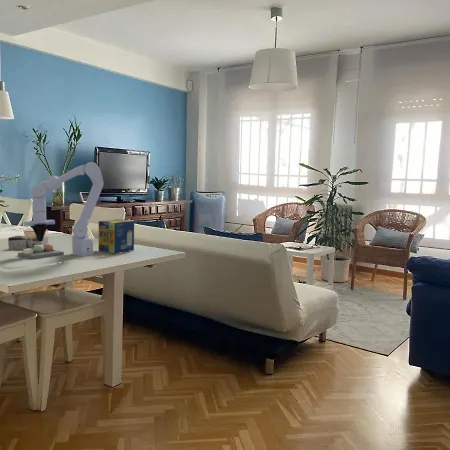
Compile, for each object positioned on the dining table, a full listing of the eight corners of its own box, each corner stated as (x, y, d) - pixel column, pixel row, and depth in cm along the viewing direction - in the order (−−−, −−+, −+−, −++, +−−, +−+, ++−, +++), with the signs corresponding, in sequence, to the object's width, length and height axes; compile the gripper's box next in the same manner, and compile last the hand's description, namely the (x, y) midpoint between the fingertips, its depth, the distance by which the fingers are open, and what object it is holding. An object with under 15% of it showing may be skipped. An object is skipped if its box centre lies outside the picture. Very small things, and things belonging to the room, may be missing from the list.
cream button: (35, 255, 203) (34, 249, 203) (26, 257, 200) (26, 250, 199) (30, 254, 205) (29, 248, 205) (21, 255, 202) (21, 249, 202)
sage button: (45, 251, 207) (45, 245, 207) (37, 253, 204) (36, 246, 203) (40, 250, 209) (39, 244, 209) (32, 251, 206) (31, 245, 206)
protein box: (98, 252, 224) (97, 221, 223) (118, 248, 238) (119, 218, 236) (114, 254, 219) (114, 222, 218) (134, 250, 233) (134, 220, 231)
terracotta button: (54, 250, 211) (54, 244, 211) (47, 251, 208) (47, 245, 207) (49, 249, 213) (49, 243, 213) (42, 250, 210) (41, 244, 210)
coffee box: (41, 238, 220) (7, 237, 220) (41, 251, 221) (8, 250, 221) (48, 236, 229) (16, 235, 229) (48, 248, 230) (16, 247, 230)
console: (63, 257, 208) (63, 251, 208) (33, 261, 196) (33, 255, 196) (48, 253, 215) (48, 248, 215) (18, 257, 203) (17, 252, 203)
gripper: (48, 210, 213) (48, 238, 215) (19, 211, 201) (20, 241, 203) (57, 210, 209) (58, 240, 211) (28, 212, 197) (29, 243, 199)
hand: (40, 241), depth 206 cm, fingers closed
